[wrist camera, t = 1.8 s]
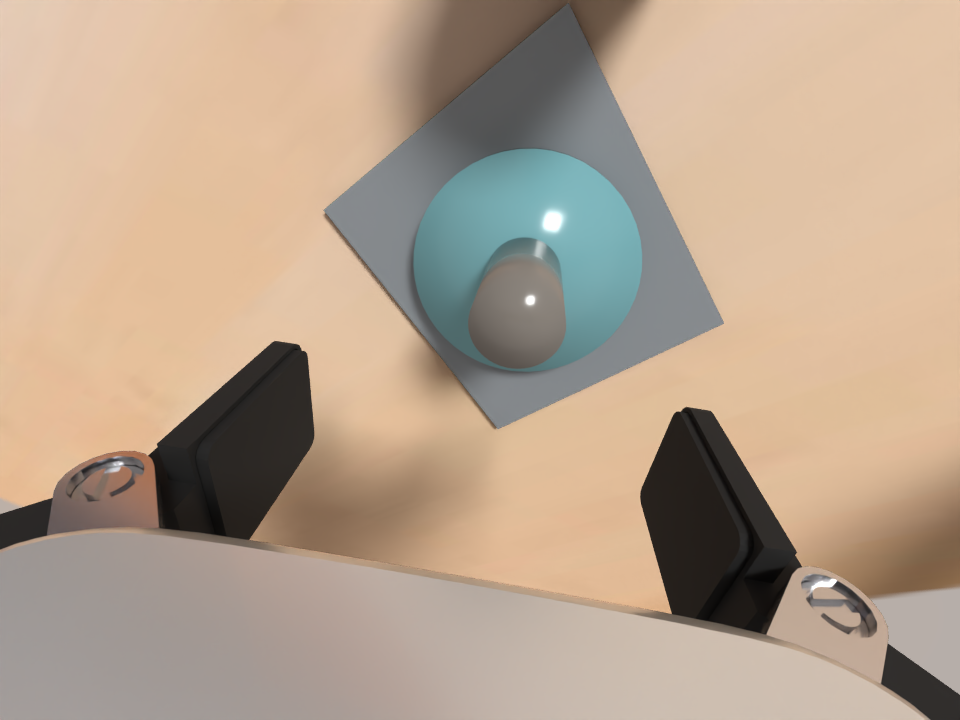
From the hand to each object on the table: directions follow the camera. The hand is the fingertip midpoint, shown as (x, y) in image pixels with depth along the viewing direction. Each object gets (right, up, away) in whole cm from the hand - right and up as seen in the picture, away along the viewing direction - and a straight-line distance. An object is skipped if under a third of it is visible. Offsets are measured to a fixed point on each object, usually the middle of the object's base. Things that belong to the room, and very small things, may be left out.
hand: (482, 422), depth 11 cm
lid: (+2, +6, +11) cm, 13 cm away
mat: (+2, +7, +11) cm, 13 cm away
